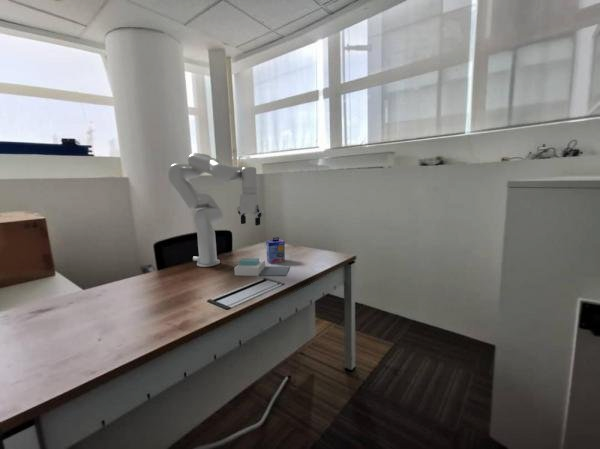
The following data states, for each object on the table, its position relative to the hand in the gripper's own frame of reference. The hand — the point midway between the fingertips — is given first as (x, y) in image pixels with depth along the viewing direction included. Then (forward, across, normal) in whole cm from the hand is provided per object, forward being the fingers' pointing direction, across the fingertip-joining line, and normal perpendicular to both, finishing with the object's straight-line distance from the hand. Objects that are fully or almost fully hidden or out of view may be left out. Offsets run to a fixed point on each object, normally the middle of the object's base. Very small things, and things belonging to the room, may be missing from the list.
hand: (250, 224), depth 145 cm
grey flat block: (+24, +2, -4) cm, 24 cm away
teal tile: (+20, +2, -4) cm, 20 cm away
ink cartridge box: (+24, +4, +16) cm, 29 cm away
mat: (+24, +14, +1) cm, 28 cm away
